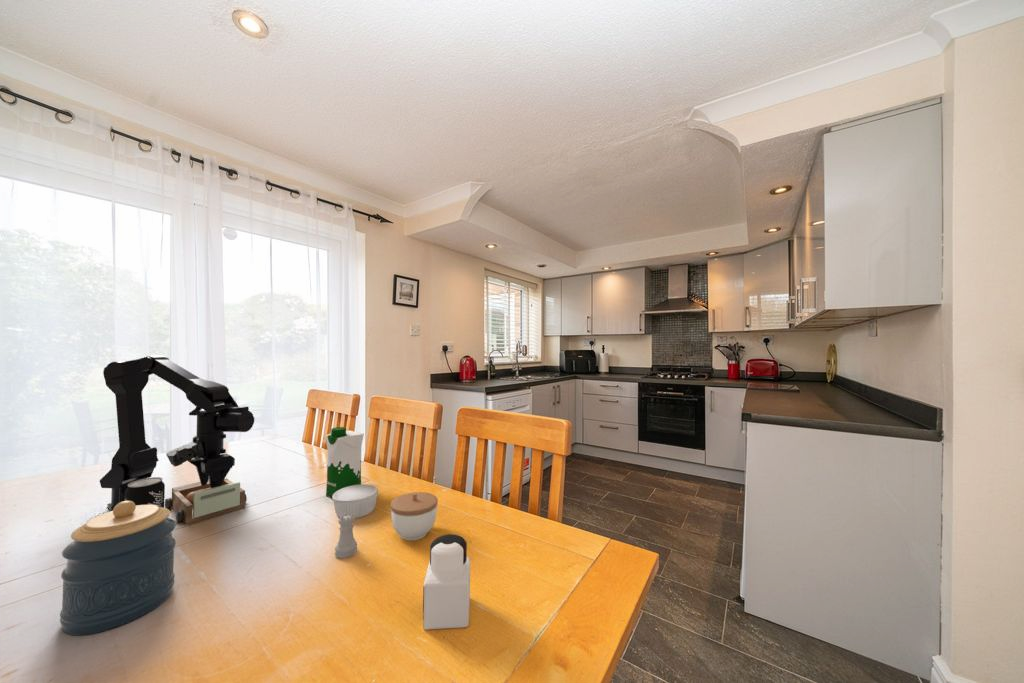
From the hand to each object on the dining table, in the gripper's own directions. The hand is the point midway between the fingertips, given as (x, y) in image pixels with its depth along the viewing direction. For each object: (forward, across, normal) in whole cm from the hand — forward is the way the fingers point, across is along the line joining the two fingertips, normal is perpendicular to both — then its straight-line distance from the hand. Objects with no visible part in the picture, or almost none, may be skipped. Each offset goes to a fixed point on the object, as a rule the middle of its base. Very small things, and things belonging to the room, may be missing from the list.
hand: (209, 488), depth 97 cm
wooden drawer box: (+5, -1, 0) cm, 5 cm away
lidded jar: (+6, +56, +25) cm, 61 cm away
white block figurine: (+6, +81, +12) cm, 82 cm away
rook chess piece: (+5, +50, +11) cm, 52 cm away
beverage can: (+5, +5, -13) cm, 15 cm away
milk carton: (+5, +21, +27) cm, 34 cm away
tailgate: (+4, +8, 0) cm, 9 cm away
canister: (+5, +36, -20) cm, 41 cm away
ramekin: (+6, +34, +23) cm, 41 cm away
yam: (+4, -4, 0) cm, 5 cm away
